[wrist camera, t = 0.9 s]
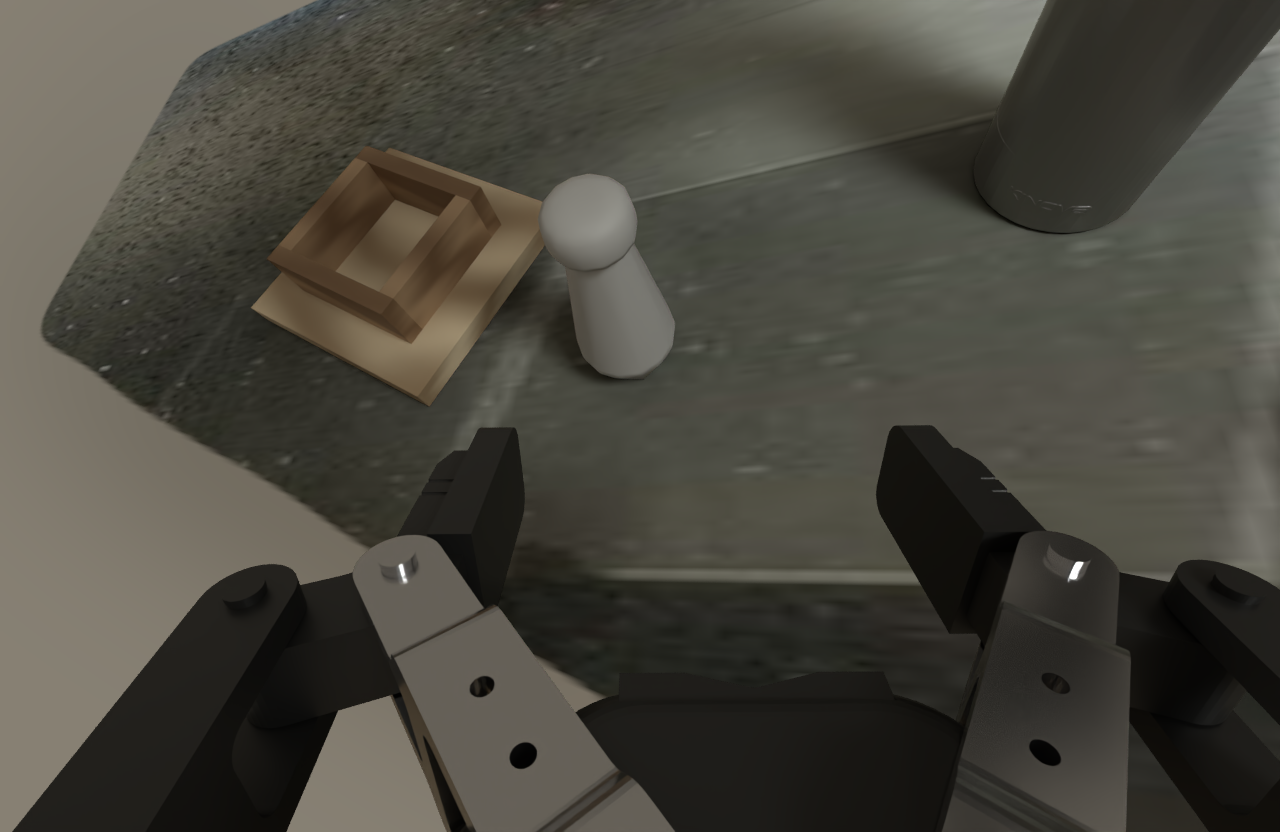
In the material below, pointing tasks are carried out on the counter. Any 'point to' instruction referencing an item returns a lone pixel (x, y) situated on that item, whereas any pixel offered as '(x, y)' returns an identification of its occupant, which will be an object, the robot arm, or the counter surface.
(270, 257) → the socket holder
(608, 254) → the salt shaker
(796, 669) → the counter surface
